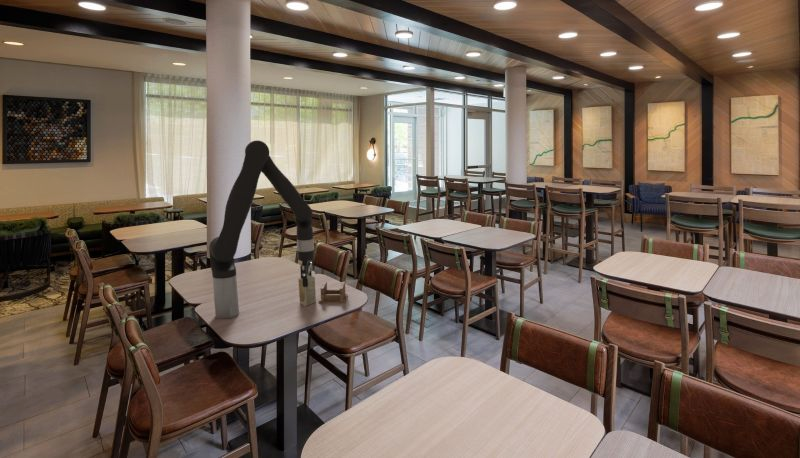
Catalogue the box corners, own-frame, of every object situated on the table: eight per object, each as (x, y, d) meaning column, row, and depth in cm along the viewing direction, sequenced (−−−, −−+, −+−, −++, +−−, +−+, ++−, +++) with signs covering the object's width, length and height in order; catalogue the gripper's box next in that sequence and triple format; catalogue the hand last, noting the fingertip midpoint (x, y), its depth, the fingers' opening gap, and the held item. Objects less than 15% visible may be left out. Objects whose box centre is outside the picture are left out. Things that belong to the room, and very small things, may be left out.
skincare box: (310, 300, 200) (309, 274, 198) (316, 302, 198) (315, 276, 195) (298, 303, 195) (297, 278, 193) (305, 306, 193) (304, 279, 190)
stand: (345, 303, 197) (344, 288, 195) (318, 303, 197) (318, 288, 195) (347, 295, 206) (347, 281, 205) (322, 295, 206) (322, 281, 205)
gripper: (311, 252, 185) (312, 288, 188) (317, 244, 199) (318, 278, 202) (293, 253, 185) (295, 289, 188) (300, 245, 199) (302, 278, 202)
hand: (307, 283), depth 195 cm, fingers open, 8 cm apart
